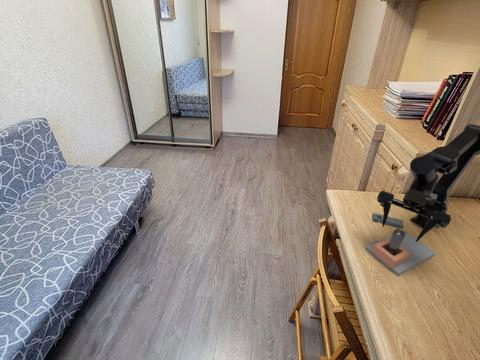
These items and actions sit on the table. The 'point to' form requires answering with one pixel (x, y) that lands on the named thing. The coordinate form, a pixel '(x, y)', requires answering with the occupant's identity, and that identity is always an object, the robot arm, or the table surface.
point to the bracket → (388, 220)
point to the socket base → (401, 254)
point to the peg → (395, 241)
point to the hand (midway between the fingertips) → (399, 233)
